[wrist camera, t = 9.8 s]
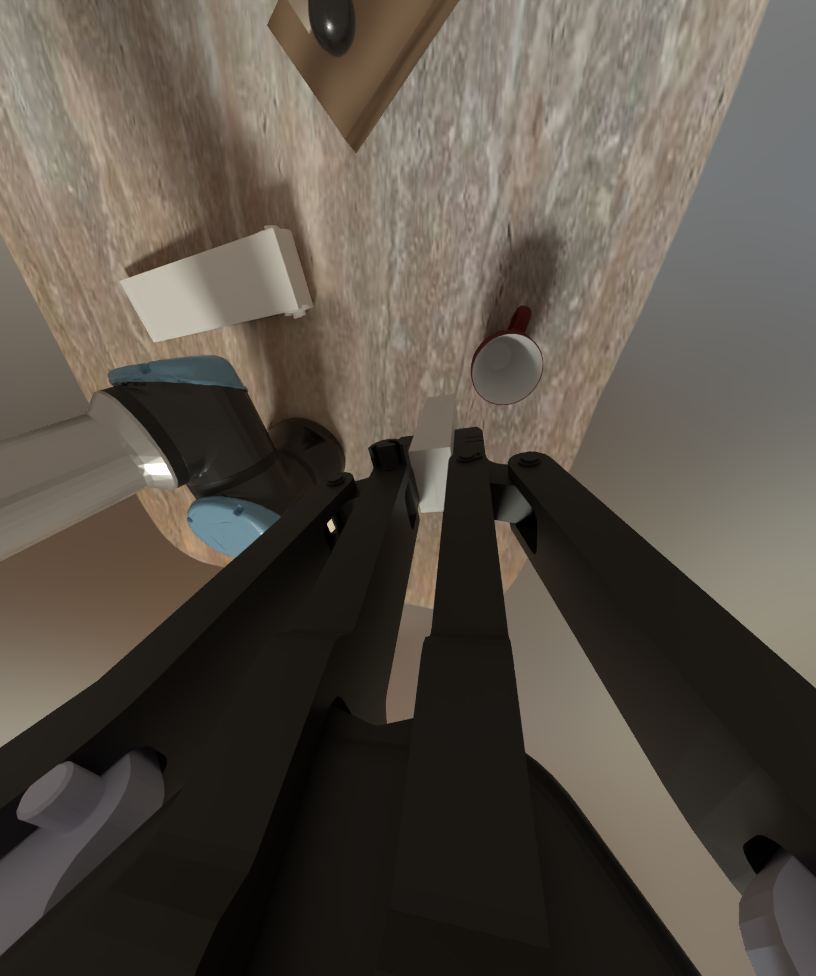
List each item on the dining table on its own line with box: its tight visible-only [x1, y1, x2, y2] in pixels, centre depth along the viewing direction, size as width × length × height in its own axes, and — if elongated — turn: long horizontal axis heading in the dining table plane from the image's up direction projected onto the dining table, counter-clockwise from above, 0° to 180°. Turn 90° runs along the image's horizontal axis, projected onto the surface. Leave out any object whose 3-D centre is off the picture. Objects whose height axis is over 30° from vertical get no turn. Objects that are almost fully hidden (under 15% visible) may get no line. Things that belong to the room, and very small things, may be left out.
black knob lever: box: [308, 0, 356, 57], centre depth 24 cm, size 3×3×13 cm
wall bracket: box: [120, 225, 314, 342], centre depth 44 cm, size 10×7×28 cm
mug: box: [471, 306, 543, 405], centre depth 39 cm, size 10×8×10 cm
